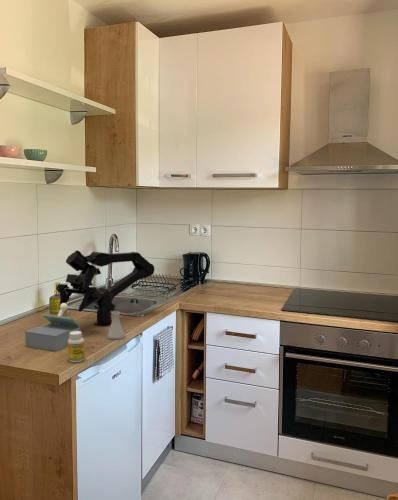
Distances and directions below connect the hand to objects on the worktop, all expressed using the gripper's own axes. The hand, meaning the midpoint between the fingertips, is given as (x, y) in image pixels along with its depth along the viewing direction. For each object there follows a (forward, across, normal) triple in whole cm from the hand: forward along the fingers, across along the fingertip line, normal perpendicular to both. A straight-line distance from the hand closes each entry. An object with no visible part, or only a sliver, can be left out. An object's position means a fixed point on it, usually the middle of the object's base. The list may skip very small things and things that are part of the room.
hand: (69, 309), depth 179 cm
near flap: (+6, 0, -2) cm, 6 cm away
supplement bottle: (+22, +19, -7) cm, 30 cm away
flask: (+4, +18, +11) cm, 22 cm away
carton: (+14, 0, 0) cm, 14 cm away
